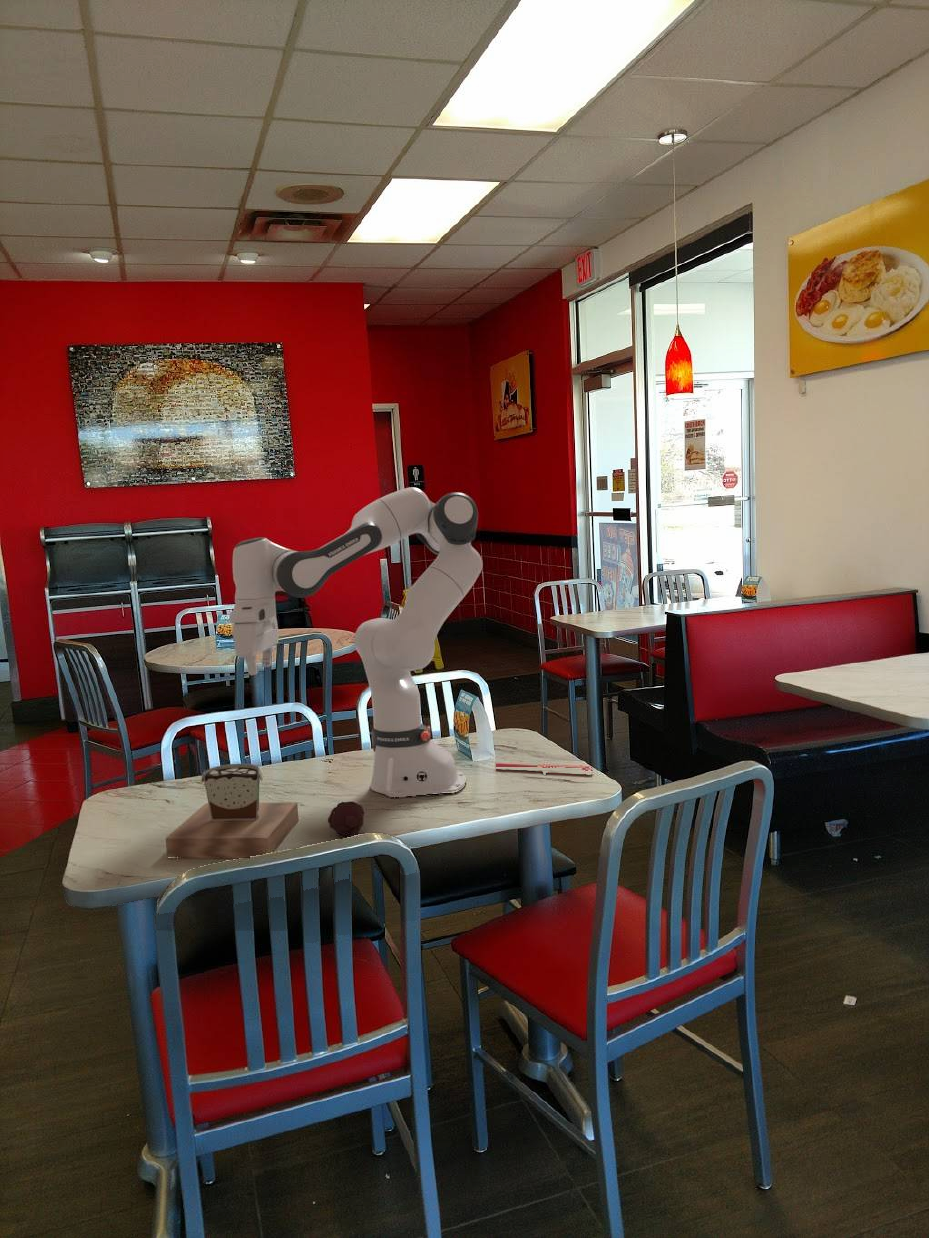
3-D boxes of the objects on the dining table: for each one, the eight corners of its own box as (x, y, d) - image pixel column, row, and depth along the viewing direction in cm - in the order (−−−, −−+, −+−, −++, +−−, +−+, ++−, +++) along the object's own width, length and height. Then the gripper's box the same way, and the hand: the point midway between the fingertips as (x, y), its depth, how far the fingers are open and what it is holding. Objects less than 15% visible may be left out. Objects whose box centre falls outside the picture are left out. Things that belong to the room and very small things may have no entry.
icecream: (317, 796, 186) (331, 825, 172) (350, 782, 187) (368, 810, 174) (327, 825, 188) (342, 856, 174) (360, 811, 189) (378, 841, 176)
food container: (273, 809, 186) (269, 762, 184) (264, 819, 180) (260, 771, 178) (214, 810, 187) (211, 763, 185) (204, 820, 181) (200, 772, 179)
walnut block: (298, 820, 190) (297, 802, 189) (269, 858, 170) (267, 837, 170) (207, 821, 192) (205, 803, 191) (167, 858, 172) (165, 838, 172)
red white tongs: (590, 782, 210) (594, 770, 214) (590, 774, 209) (593, 763, 213) (492, 776, 218) (497, 765, 222) (491, 769, 217) (496, 758, 221)
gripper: (257, 605, 214) (261, 662, 216) (226, 616, 194) (231, 679, 195) (283, 604, 213) (287, 661, 215) (254, 615, 193) (259, 678, 195)
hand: (260, 670), depth 205 cm, fingers open, 8 cm apart
